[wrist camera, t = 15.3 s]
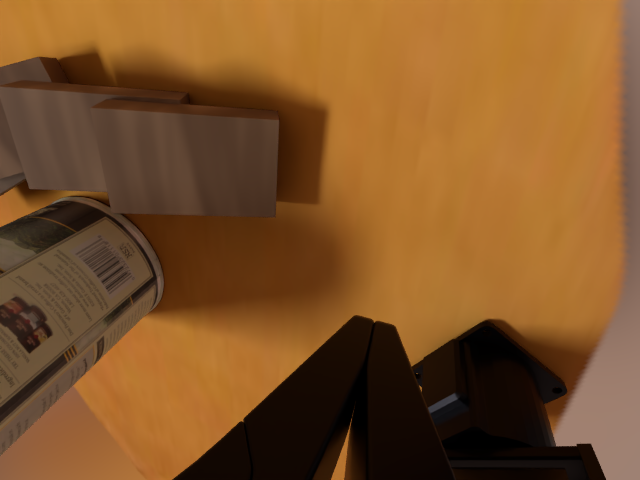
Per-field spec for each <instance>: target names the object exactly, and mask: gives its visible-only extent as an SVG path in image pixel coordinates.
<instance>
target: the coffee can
mask: <svg viewBox="0 0 640 480" xmlns="http://www.w3.org/2000/svg"><path fill="white" fill-rule="evenodd" d="M163 287H164V278H163V272H162V268H161V265H160V262H159V260H158V257H157V255H156V254H155V252H154V250H153V249H152V247H151V245H150V244H149V242H148V241H147V239H146V238H145V237H144V235H143V234H142V233H141V232H140V231H139V230H138V228H137V227H136V226H134V225H133V224H132V223H131V222H130V221H129V220H128V219H127V218H125V217H124V216H123V215H122V214H120V213H112V212H111V208H110V207H109V206H107V205H105V204H103V203H101V202H98V201H96V200H93V199H89V198H85V197H65V198H61V199H59V200H57V201H55V202H53V203H52V204H51V205H48V206H46V207H44V208H42V209H39V210H37V211H35V212H33V213H31V214H29V215H26V216H24V217H21V218H19V219H17V220H15V221H13V222H11V223H9V224H6V225H4V226H2V227H0V456H1V455H2V454H3V453H4V452H5V451H6V450H7V449H8V448H9V447H10V446H11V445H12V444H13V443H14V442H15V441H16V440H17V439H18V438H19V437H20V436H22V434H24V433H25V432H26V430H28V429H29V428H30V427H31V426H32V425H33V424H34V423H35V422H36V421H37V420H38V419H39V418H40V417H41V416H42V415H43V414H44V413H45V412H46V411H47V410H48V409H49V408H50V407H51V406H52V405H53V404H54V403H55V402H56V401H57V400H58V399H59V398H60V397H61V396H63V394H64V393H66V392H67V391H68V390H69V389H70V388H71V387H72V386H73V385H74V384H75V383H76V382H77V381H78V380H79V379H80V378H81V377H82V376H83V375H84V374H85V373H86V372H87V371H88V370H90V369H91V368H92V367H93V366H94V365H95V364H96V363H97V362H98V361H99V360H100V359H101V358H102V357H103V356H104V355H105V354H106V353H107V352H108V351H109V350H110V349H111V348H112V347H113V346H114V345H115V344H116V343H117V342H118V341H119V340H120V339H121V338H122V337H123V336H124V335H125V334H126V333H127V332H129V331H130V330H131V329H132V328H133V327H134V326H135V325H136V324H137V323H138V322H139V321H140V320H141V319H142V318H143V317H144V316H145V315H146V314H147V313H149V312H150V311H152V310H153V309H154V308H155V307H156V306H157V304H158V303H159V301H160V300H161V298H162V293H163Z"/></svg>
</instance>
